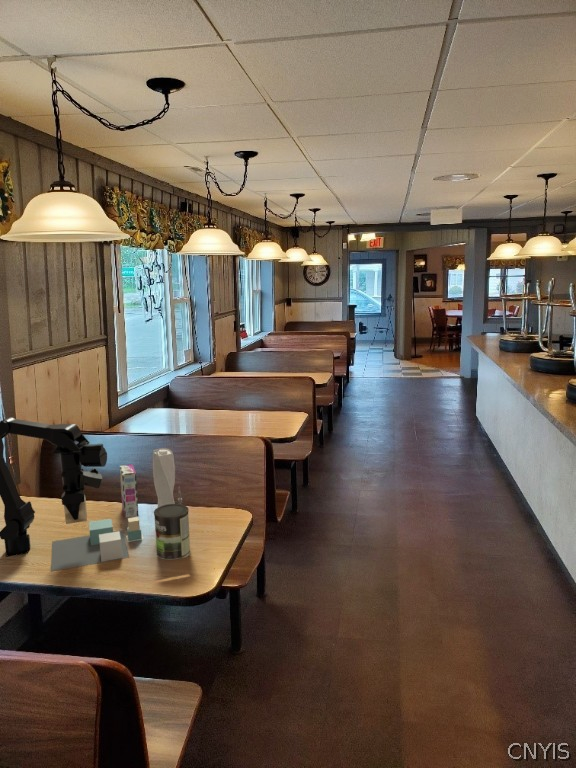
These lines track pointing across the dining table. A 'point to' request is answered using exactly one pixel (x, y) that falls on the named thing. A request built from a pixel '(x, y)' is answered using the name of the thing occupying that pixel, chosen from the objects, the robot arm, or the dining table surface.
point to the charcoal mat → (79, 552)
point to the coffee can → (172, 531)
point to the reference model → (134, 530)
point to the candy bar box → (129, 491)
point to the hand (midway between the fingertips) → (76, 515)
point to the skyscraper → (164, 476)
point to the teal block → (99, 529)
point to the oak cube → (81, 516)
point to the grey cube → (110, 546)
